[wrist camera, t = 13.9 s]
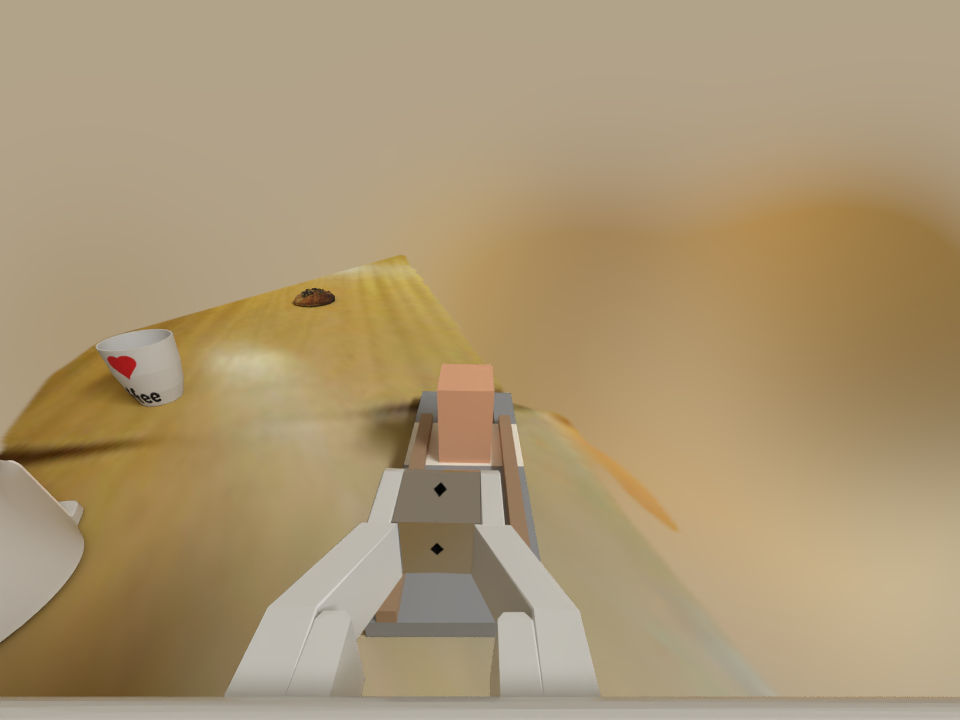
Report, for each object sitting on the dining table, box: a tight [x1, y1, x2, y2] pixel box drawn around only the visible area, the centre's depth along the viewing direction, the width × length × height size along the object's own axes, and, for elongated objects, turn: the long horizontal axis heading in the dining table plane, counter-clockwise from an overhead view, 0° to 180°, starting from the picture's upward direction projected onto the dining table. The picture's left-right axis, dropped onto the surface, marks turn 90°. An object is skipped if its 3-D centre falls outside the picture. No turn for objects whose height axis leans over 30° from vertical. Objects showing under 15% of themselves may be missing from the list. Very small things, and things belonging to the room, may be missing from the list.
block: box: [437, 364, 494, 463], centre depth 40 cm, size 6×6×10 cm
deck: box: [365, 391, 541, 637], centre depth 39 cm, size 14×32×4 cm, turn 1°
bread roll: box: [293, 288, 335, 307], centre depth 99 cm, size 11×11×5 cm
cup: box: [96, 329, 184, 407], centre depth 51 cm, size 8×8×10 cm
